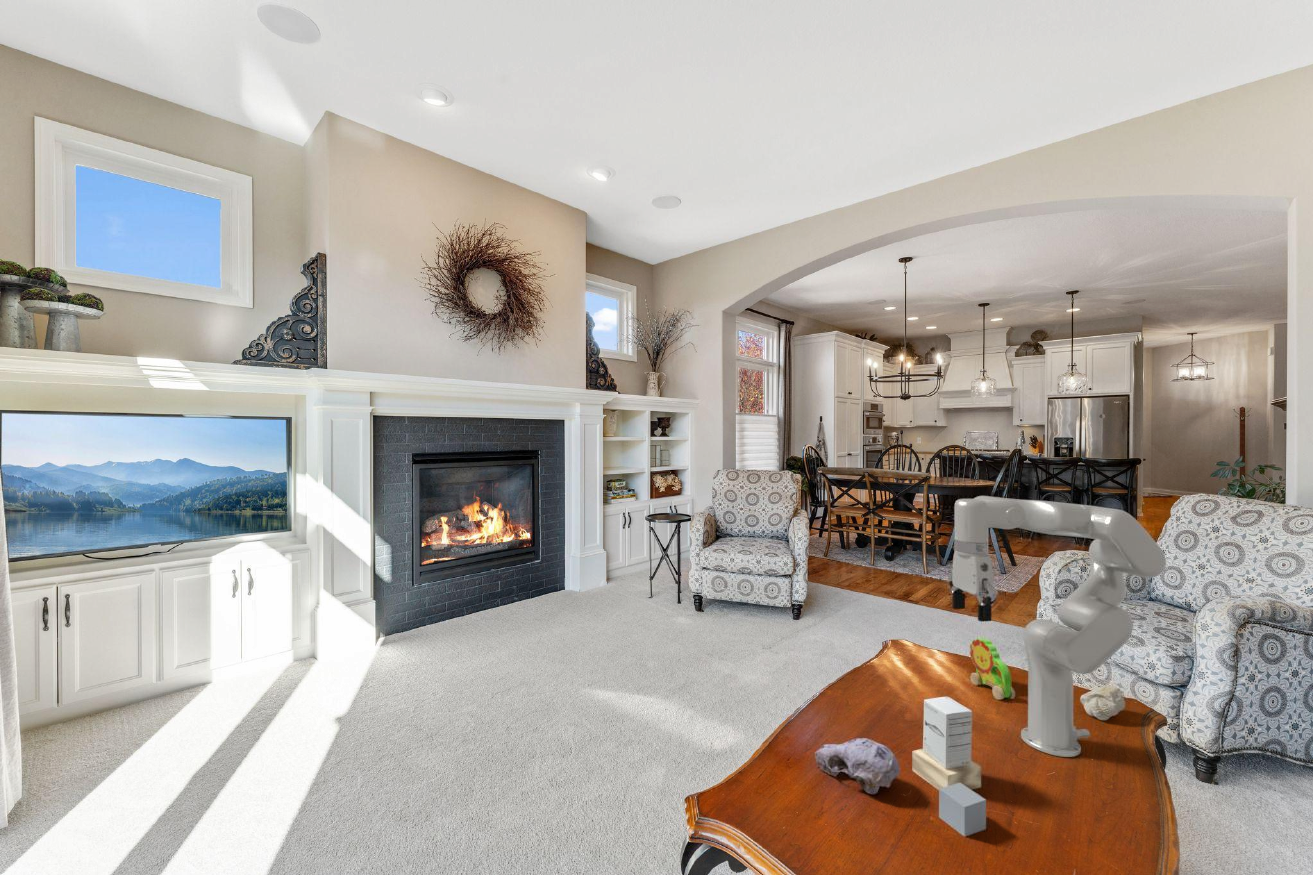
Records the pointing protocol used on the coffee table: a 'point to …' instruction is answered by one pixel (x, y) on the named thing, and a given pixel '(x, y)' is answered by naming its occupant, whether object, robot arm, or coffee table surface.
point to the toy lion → (990, 669)
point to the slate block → (962, 809)
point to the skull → (860, 762)
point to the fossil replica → (1103, 702)
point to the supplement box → (947, 732)
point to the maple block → (945, 772)
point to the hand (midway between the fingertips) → (971, 614)
